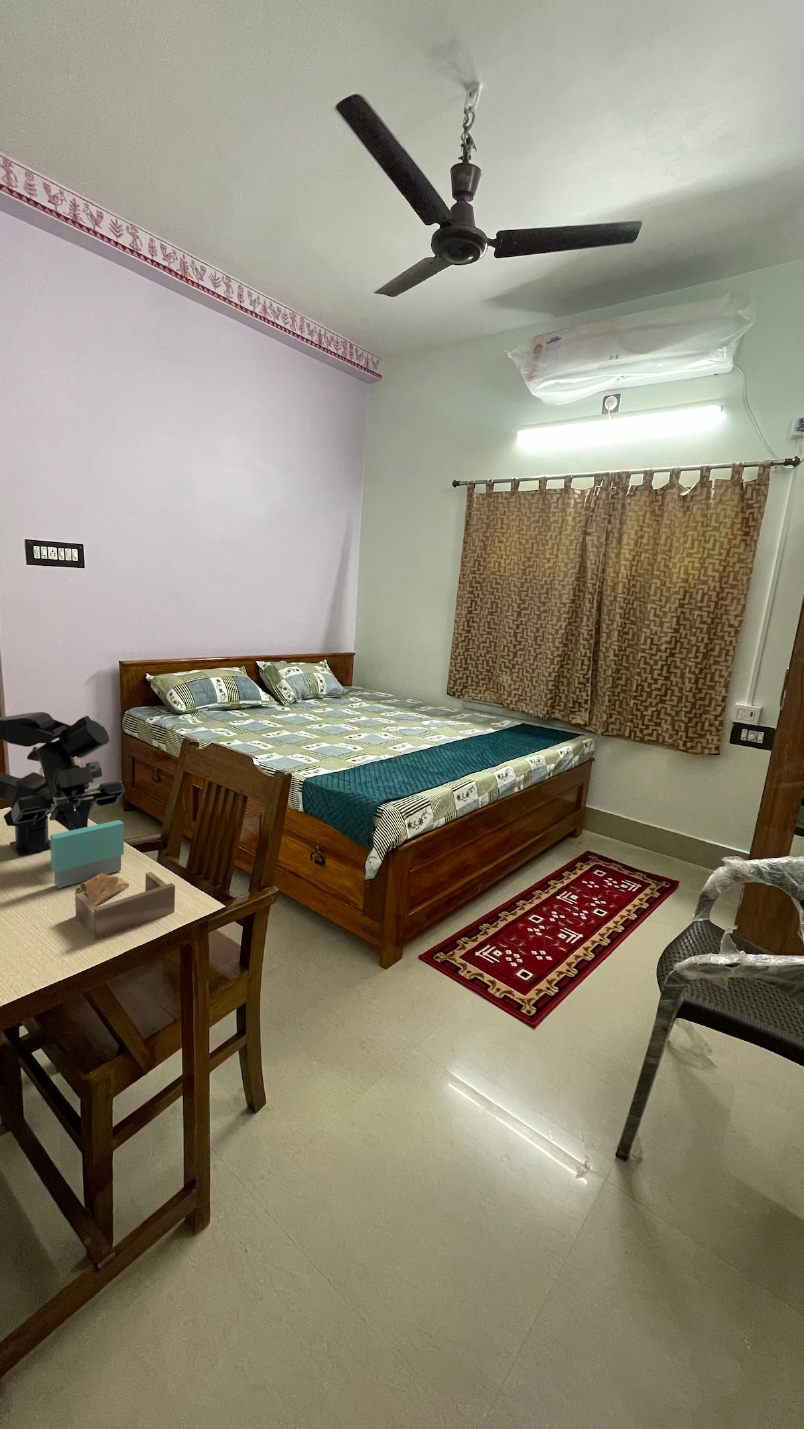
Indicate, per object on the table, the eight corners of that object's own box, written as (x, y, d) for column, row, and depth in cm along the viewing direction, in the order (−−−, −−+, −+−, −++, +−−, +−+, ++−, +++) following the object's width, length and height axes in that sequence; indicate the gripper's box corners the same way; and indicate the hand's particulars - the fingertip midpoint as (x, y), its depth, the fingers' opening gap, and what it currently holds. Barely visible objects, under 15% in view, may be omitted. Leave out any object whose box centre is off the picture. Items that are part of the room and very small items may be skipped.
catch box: (75, 916, 95) (75, 888, 94) (150, 891, 105) (151, 866, 104) (97, 939, 90) (97, 911, 89) (174, 911, 100) (175, 885, 99)
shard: (84, 918, 96) (84, 908, 96) (48, 907, 98) (48, 898, 97) (131, 888, 106) (131, 880, 106) (97, 879, 108) (97, 871, 108)
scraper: (51, 884, 103) (50, 835, 101) (119, 865, 112) (119, 819, 111) (55, 889, 102) (54, 838, 100) (123, 869, 111) (123, 823, 109)
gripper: (14, 756, 101) (39, 834, 96) (121, 742, 115) (146, 810, 111) (1, 785, 107) (24, 860, 103) (104, 769, 122) (127, 834, 117)
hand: (83, 840), depth 108 cm, fingers closed
